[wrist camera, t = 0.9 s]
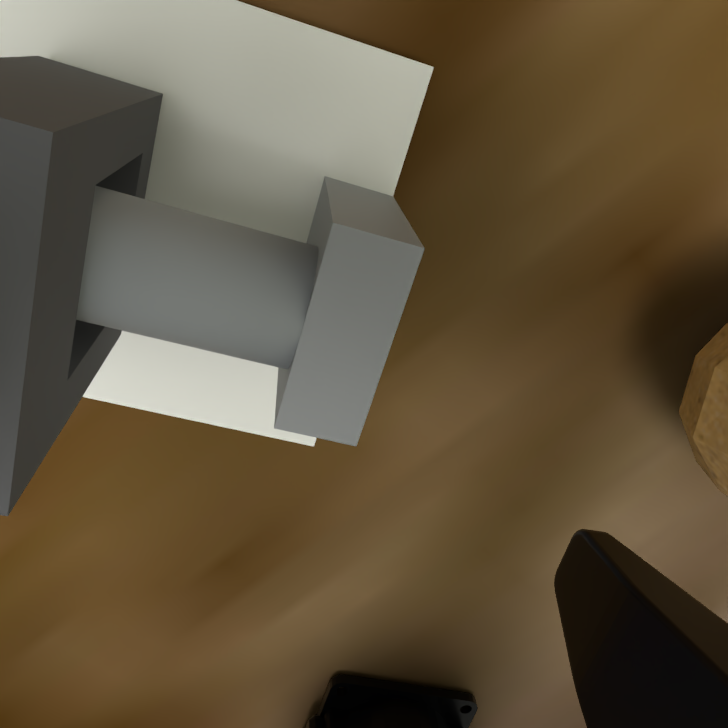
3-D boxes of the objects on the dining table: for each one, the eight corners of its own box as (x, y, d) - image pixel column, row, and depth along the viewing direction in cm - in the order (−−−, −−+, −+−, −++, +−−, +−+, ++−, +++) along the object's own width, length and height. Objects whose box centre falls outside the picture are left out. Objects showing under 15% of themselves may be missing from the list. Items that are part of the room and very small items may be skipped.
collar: (163, 93, 17) (52, 131, 10) (121, 334, 20) (7, 516, 12) (39, 55, 17) (-184, 64, 9) (12, 308, 19) (-179, 482, 12)
